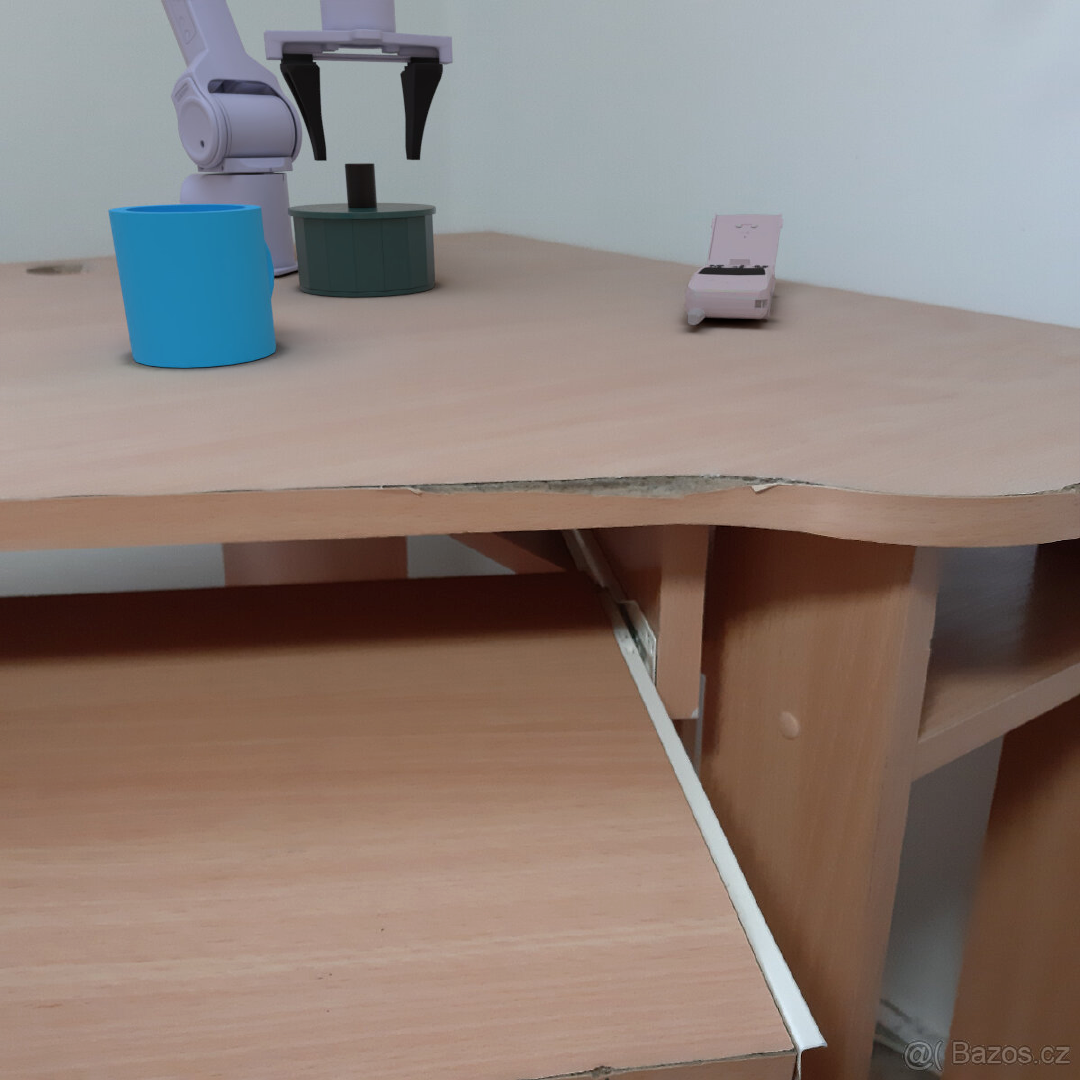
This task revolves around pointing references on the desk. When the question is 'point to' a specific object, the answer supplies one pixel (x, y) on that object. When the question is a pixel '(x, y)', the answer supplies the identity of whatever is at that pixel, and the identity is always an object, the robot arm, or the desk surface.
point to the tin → (365, 256)
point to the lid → (361, 200)
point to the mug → (195, 283)
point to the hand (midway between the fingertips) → (367, 160)
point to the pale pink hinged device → (736, 269)
